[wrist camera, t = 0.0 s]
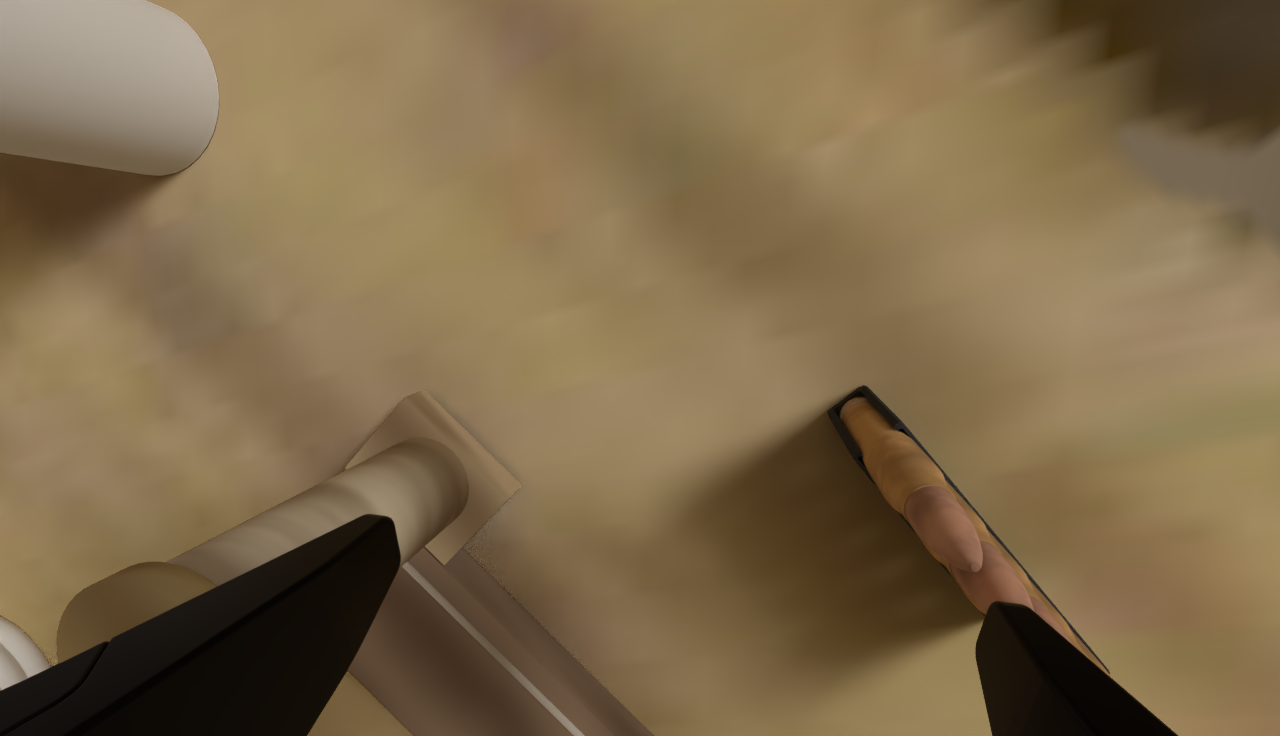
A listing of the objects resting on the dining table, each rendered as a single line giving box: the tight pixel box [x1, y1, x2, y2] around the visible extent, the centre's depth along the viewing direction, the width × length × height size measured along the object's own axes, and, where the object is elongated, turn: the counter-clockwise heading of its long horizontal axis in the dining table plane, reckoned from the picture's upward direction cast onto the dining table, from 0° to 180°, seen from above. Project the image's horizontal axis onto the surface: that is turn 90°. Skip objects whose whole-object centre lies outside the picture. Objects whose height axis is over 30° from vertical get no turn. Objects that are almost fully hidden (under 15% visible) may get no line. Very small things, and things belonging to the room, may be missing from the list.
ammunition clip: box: [828, 385, 1111, 677], centre depth 17 cm, size 11×2×12 cm, turn 41°
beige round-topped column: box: [57, 390, 522, 664], centre depth 20 cm, size 5×6×14 cm
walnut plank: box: [342, 469, 653, 736], centre depth 27 cm, size 8×20×2 cm, turn 47°
